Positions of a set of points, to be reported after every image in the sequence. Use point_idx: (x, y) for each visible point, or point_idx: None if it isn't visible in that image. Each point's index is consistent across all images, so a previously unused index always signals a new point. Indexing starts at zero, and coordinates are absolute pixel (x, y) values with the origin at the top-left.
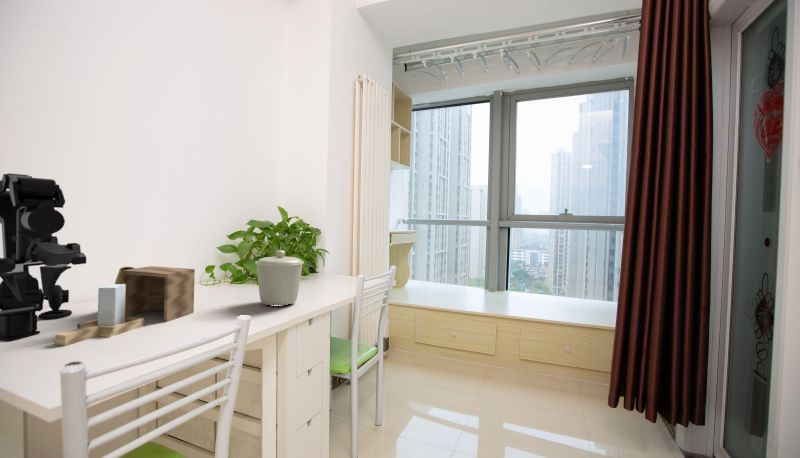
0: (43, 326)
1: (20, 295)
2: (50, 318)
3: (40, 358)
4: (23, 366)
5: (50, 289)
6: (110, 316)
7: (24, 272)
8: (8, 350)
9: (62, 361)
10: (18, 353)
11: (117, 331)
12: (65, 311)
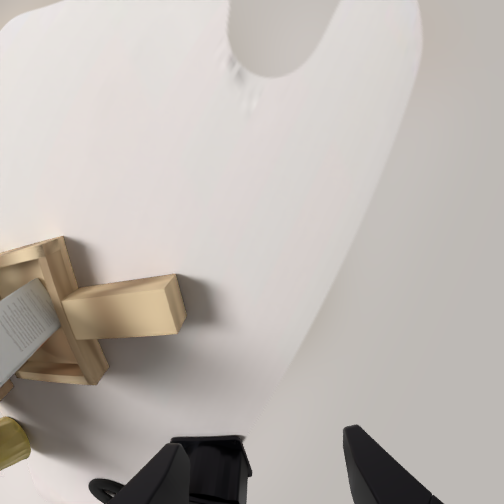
0: None
1: (384, 452)
2: None
3: (277, 209)
4: (339, 176)
5: (151, 477)
6: (15, 307)
7: None
8: (279, 374)
9: (260, 108)
10: (282, 325)
11: (38, 243)
12: (98, 490)
